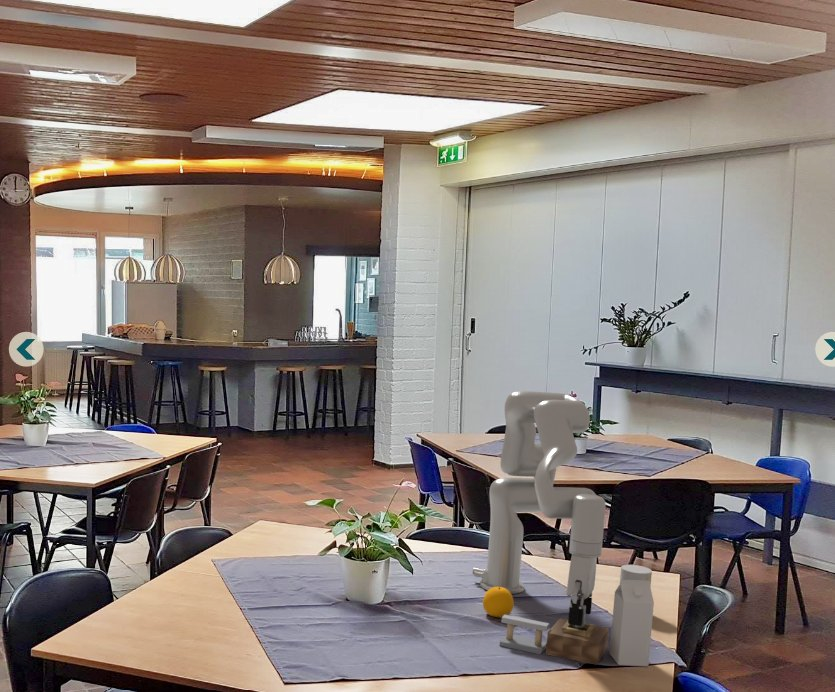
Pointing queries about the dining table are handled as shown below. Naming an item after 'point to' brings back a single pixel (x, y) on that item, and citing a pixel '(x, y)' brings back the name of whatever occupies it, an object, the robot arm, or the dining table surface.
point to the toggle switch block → (577, 642)
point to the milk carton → (632, 623)
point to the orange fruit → (498, 602)
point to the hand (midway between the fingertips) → (579, 618)
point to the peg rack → (521, 642)
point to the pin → (582, 621)
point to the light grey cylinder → (635, 573)
